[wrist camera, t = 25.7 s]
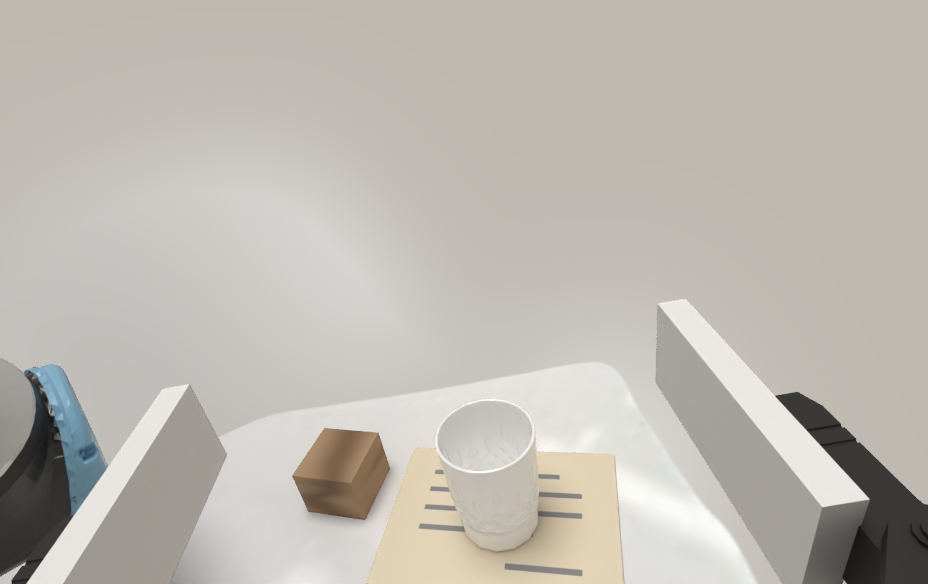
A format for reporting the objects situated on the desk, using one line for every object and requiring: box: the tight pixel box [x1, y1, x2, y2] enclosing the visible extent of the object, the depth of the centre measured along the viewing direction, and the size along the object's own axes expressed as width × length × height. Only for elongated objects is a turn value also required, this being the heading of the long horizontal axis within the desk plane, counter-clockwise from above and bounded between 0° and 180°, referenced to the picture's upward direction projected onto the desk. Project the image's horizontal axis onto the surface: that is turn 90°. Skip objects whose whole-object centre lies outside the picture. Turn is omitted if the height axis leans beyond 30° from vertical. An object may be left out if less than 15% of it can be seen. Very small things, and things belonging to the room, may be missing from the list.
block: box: [293, 428, 390, 520], centre depth 49 cm, size 6×6×5 cm
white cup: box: [435, 399, 539, 552], centre depth 42 cm, size 8×8×10 cm
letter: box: [366, 448, 624, 584], centre depth 45 cm, size 20×15×1 cm
